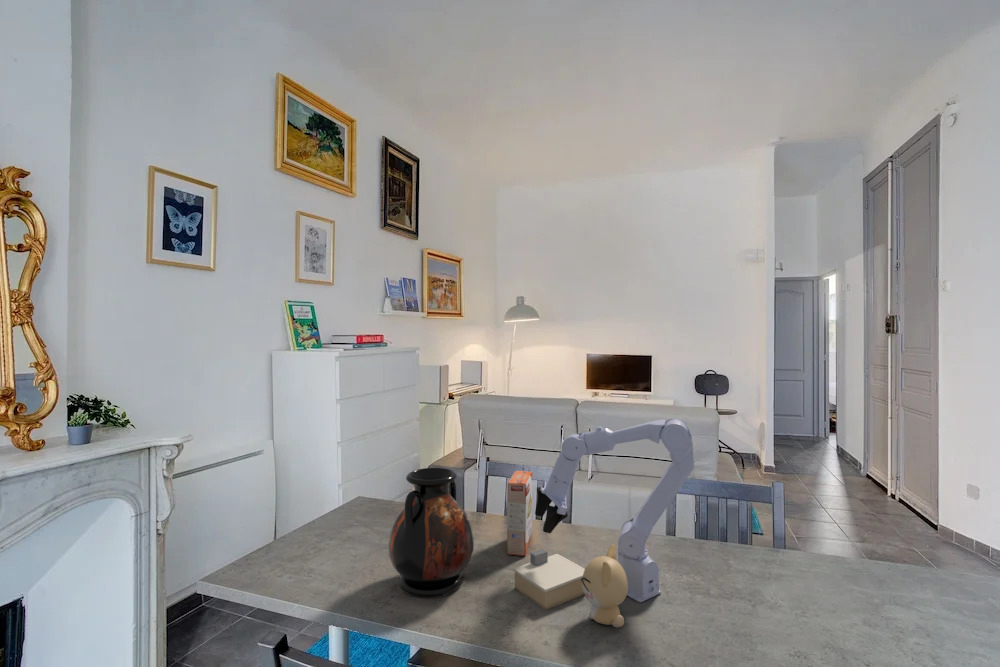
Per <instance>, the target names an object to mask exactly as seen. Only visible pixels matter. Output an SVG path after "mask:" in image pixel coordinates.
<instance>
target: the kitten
mask: <svg viewBox="0 0 1000 667" xmlns="http://www.w3.org/2000/svg"><path fill="white" fill-rule="evenodd" d="M584 569H585V570H584V573H583V578H581V581H582V586H583V591H584V595H585V598H586V599H587V601H588V602H589V604H590V605H591V606H590V609H589V613H588V617H589V619H590V620H594V621H595V622H596V623H599V624H601V625H605V626H606V625H607V626H608V625H609V626H610V625H612V626H613V627H614V628H621V627H623V626H624V624H625V619H624V616H623V615H621V610H620V608H619V605H621V604H622V603H623V602H624V600H625V599H626V598H627V592H628V581H627V577H626V574H625V571H624V569H623V568H622V566H621V565H620V564H619V563H618V560H617V552H616V546H615V544H614V543H613V544H612V543H611V544H610V545H609V547H608V550H607V553H606V555H601V556H596V557H594V558H593V559H591V560H590V561H589V562H588V563H587V565H586V566H585V568H584Z"/></svg>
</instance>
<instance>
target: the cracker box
mask: <svg viewBox="0 0 1000 667" xmlns="http://www.w3.org/2000/svg"><path fill="white" fill-rule="evenodd" d="M506 502H507V508H506V509H507V511H506V514H507V517H506V518H507V519H506V520H507V521H506V524H507V526H506V531H507V532H506V555H509V556H521V557H526V556H527V553H528V550H529V546H530V544H531V540H532V538H533V472H532V471H530V470H529V471H527V470H515V471H514V472H513V474H512V475H511V477H510V479H509V481H508V482H507V501H506Z"/></svg>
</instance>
